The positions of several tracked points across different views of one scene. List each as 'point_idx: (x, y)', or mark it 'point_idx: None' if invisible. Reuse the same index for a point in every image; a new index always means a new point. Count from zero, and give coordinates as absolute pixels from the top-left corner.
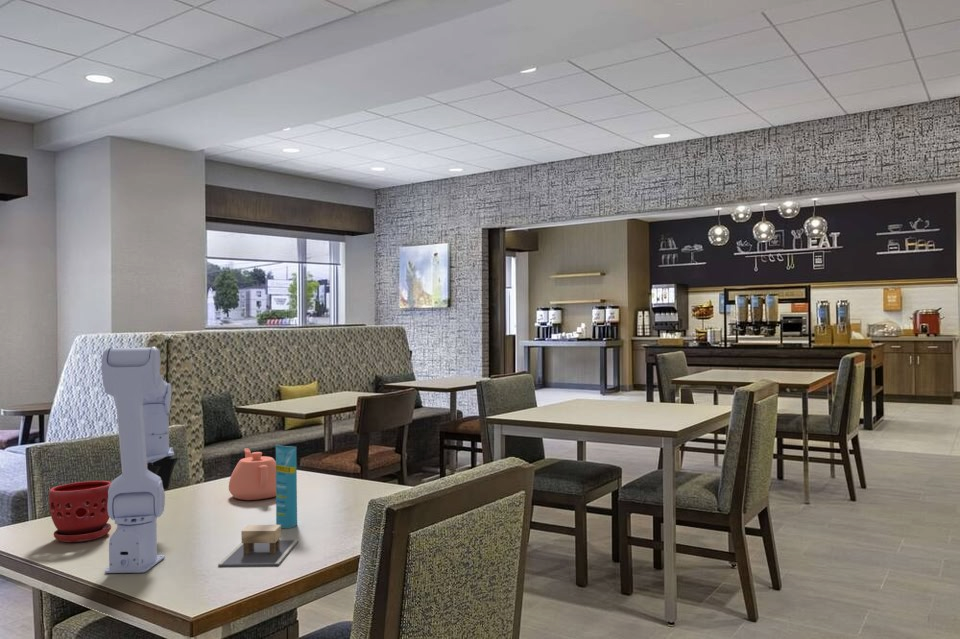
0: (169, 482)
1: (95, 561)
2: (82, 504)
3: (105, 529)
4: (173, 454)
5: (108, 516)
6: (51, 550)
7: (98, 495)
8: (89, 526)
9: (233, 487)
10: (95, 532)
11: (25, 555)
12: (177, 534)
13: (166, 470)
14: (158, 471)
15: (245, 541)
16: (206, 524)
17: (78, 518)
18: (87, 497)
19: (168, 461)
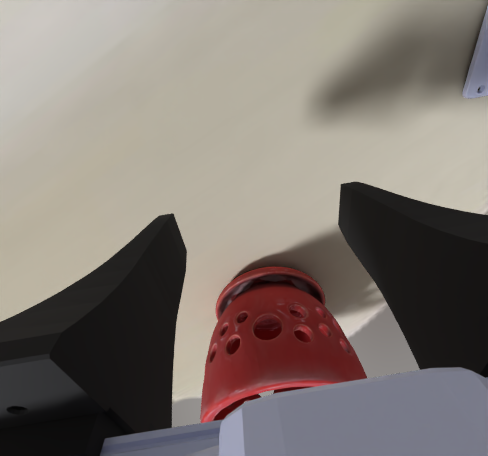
0: (146, 228)
1: (455, 169)
2: (352, 349)
3: (275, 271)
4: (323, 402)
5: (263, 295)
6: (350, 293)
7: (330, 355)
8: (309, 294)
9: None
10: (301, 275)
11: (374, 308)
12: (215, 89)
13: (145, 296)
14: (466, 237)
15: None
16: (65, 45)
17: (337, 322)
18: (353, 363)
19: (110, 362)
